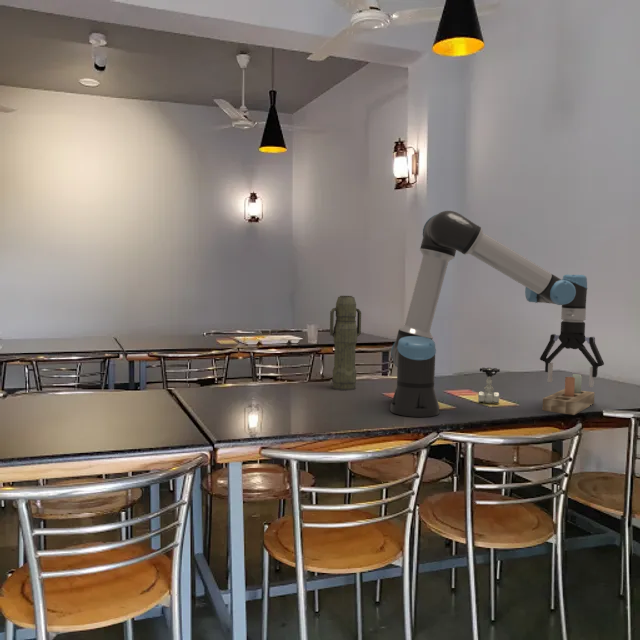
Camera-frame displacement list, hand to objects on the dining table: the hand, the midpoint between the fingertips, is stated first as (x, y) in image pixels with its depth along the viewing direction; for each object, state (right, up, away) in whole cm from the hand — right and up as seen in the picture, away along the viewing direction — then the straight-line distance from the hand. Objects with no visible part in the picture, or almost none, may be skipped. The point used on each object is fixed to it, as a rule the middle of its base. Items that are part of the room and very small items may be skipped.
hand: (570, 384), depth 213 cm
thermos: (-75, -4, +28) cm, 80 cm away
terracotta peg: (0, -8, +1) cm, 8 cm away
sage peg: (+5, -7, +7) cm, 11 cm away
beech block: (0, -8, +1) cm, 8 cm away
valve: (-26, -7, +4) cm, 28 cm away
